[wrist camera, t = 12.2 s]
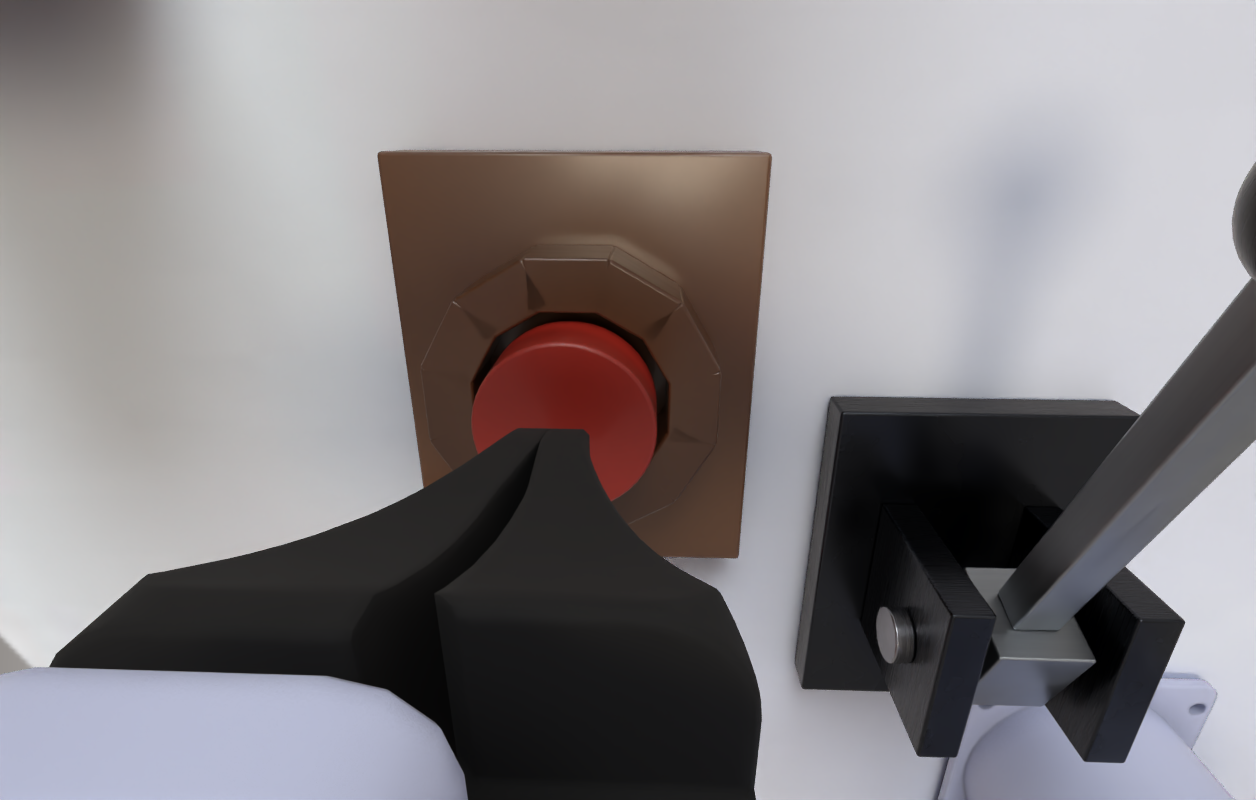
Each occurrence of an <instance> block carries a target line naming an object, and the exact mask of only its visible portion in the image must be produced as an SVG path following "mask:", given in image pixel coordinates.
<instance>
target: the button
mask: <svg viewBox="0 0 1256 800" xmlns="http://www.w3.org/2000/svg"><path fill="white" fill-rule="evenodd" d="M471 427H472V435H473V440H474V443H475V446H476V450H477V452H478V454H479V453H481V452H482V451H484V450H485V449H487V448H488V447H489V446H491V445H492V444H494V443H495V442H497V441H498V440H500V439H501V438H502V437H504V436H505V435H507V434H508V433H510V432H512V431H513V430H515V429H517V428H549V429H584V430H585V431H586V432H587V433H588V434H589V436H590V457H591V461H592V464H593V466H594V469H595V471H596V473H597V476H598V478H599V480H600V482H601V484H602V486H603V488H604V490H605V492H606V494H607V495H608V497H609V499H610V501H613V500H615V499H616V498H618V497H620V496H621V495H623V494H624V493H625V492H627V491H628V490H629V489H630V488H632V487H633V486H634V485H635V484H636V483H637V482H638V480H639V479H640V478H641V477H642V475H643V474H644V473H645V471H646V469H647V468H648V466H649V464H650V462H651V459H652V457H653V454H654V451H655V446H656V441H657V399H656V390H655V385H654V381H653V378H652V375H651V373H650V371H649V369H648V367H647V365H646V363H645V362H644V360H643V359H642V357H641V356H640V354H639V353H638V352H637V351H636V350H635V349H634V348H633V347H632V346H631V345H630V344H629V343H628V342H627V341H625V340H624V339H623V338H621V337H620V336H618V335H617V334H615V333H614V332H612V331H610V330H607V329H605V328H603V327H600V326H597V325H594V324H591V323H586V322H581V321H557V322H551V323H546V324H543V325H540V326H537V327H535V328H533V329H530V330H528V331H526V332H525V333H523V334H522V335H520V336H519V337H517V338H516V339H515V340H514V341H513V342H511V343H510V344H509V345H508V346H507V348H506V349H505V350H504V351H503V352H502V354H501V355H500V357H499V358H498V360H497V361H496V362H495V364H494V365H493V367H492V368H491V370H490V371H489V373H488V374H487V376H486V377H485V379H484V380H483V382H482V383H481V385H480V387H479V389H478V392H477V394H476V396H475V400H474V403H473V407H472V416H471Z"/></svg>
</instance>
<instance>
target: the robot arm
mask: <svg viewBox="0 0 1256 800" xmlns="http://www.w3.org/2000/svg"><path fill="white" fill-rule="evenodd" d="M1216 698H1217V691H1216V689H1214V688H1213V687H1212V686H1211V685H1210V684H1209V683H1208V682H1207V681H1205V680H1201V679H1176V678H1161V680H1160V682H1159V685H1158V687H1157V689H1156V692H1155V694H1154V696H1153V699H1152V701H1151V703H1150V706H1149V708H1148V710H1147V713H1146V715H1145V717H1144V719H1143V722H1142V724H1141V726H1140V729H1139V731H1138V733H1137V736H1136V738H1135V740H1134V743H1133V745H1132V747H1131V750H1130V752H1129V754H1128V757H1127V759H1126V761H1125V762H1124V763H1095V762H1084V761H1083V760H1082V758H1081V757H1080V755H1079V754H1078V753H1077V751H1076V750H1075V748H1074V747H1073V745H1072V744H1071V742H1070V741H1069V740H1068V738H1067V737H1066V735H1065V734H1064V732H1063V731H1062V729H1061V728H1060V727H1059V725H1058V724H1057V722H1056V721H1055V719H1054V718H1053V716H1052V715H1051V714H1050V712H1049V711H1048V709H1047V708H1046V706H1045V705H1044V706H1042V707H1037V706H1003V705H972V707H971V710H970V714H969V717H968V721H967V724H966V728H965V731H964V735H963V738H962V742H961V745H960V749H959V752H958V756H957V757H955V758H949V761H948V765H947V768H946V772H945V775H944V779H943V782H942V786H941V790H940V793H939V797H938V800H1235V799H1234V798H1233V797H1232V796H1231V794H1230V793H1229V792H1228V791H1227V790H1226V789H1225V788H1224V786H1223V785H1222V784H1221V783H1220V782H1219V781H1218V780H1217V778H1216V777H1215V776H1214V775H1213V774H1212V773H1211V772H1210V771H1209V769H1208V768H1207V767H1206V766H1205V765H1204V764H1203V763H1202V761H1201V760H1200V759H1199V758H1198V757H1197V756H1196V755H1195V753H1194V752H1193V751H1192V748H1193V746H1194V744H1195V742H1196V740H1197V738H1198V736H1199V734H1200V732H1201V730H1202V728H1203V726H1204V723H1205V721H1206V719H1207V717H1208V715H1209V713H1210V711H1211V709H1212V707H1213V705H1214V703H1215V701H1216ZM761 722H762V714H761V699H760V692H759V688H758V684H757V680H756V676H755V673H754V670H753V667H752V664H751V661H750V658H749V655H748V652H747V650H746V647H745V644H744V642H743V639H742V637H741V635H740V632H739V630H738V628H737V626H736V623H735V621H734V619H733V617H732V615H731V613H730V611H729V609H728V607H727V605H726V603H725V601H724V599H723V597H722V595H721V593H720V592H719V591H718V590H717V589H716V588H714V587H712V586H710V585H708V584H706V583H705V582H703V581H701V580H699V579H697V578H695V577H693V576H691V575H689V574H688V573H686V572H684V571H682V570H680V569H679V568H677V567H675V566H674V565H673V564H671V563H670V562H668V561H667V560H665V559H664V558H663V557H661V556H660V555H658V554H657V553H656V552H655V551H653V550H652V549H651V548H650V547H649V546H648V545H647V544H646V543H645V542H644V541H642V540H641V539H640V538H639V537H638V536H637V535H636V533H635V532H634V531H633V530H632V529H631V528H630V527H629V525H628V524H627V523H626V522H625V520H624V519H623V518H622V517H621V515H620V514H619V513H618V511H617V510H616V508H615V507H614V505H613V504H612V502H611V501H610V499H609V497H608V495H607V494H606V492H605V490H604V488H603V486H602V484H601V482H600V480H599V478H598V476H597V473H596V471H595V469H594V466H593V464H592V461H591V457H590V436H589V434H588V433H587V432H586V431H585V430H584V429H549V428H517V429H515V430H513V431H512V432H510V433H508V434H507V435H505V436H504V437H502V438H501V439H500V440H498V441H497V442H495V443H494V444H492V445H491V446H489V447H488V448H487V449H485V450H484V451H482V452H481V453H479V454H478V455H476V456H475V457H473V458H472V459H470V460H469V461H467V462H466V463H464V464H463V465H461V466H460V467H458V468H457V469H455V470H453V471H452V472H450V473H448V474H447V475H445V476H443V477H442V478H440V479H438V480H437V481H435V482H433V483H432V484H430V485H428V486H427V487H425V488H423V489H422V490H420V491H418V492H416V493H414V494H412V495H410V496H408V497H406V498H404V499H402V500H400V501H398V502H396V503H394V504H392V505H390V506H388V507H385V508H383V509H381V510H379V511H377V512H374V513H372V514H370V515H367V516H365V517H362V518H360V519H357V520H354V521H351V522H349V523H346V524H343V525H341V526H338V527H335V528H333V529H330V530H327V531H325V532H322V533H319V534H316V535H313V536H310V537H307V538H304V539H300V540H297V541H294V542H291V543H287V544H284V545H280V546H277V547H273V548H269V549H265V550H262V551H258V552H254V553H250V554H246V555H242V556H238V557H234V558H230V559H225V560H220V561H215V562H210V563H205V564H200V565H195V566H190V567H185V568H180V569H175V570H170V571H165V572H159V573H153V574H148V575H146V576H145V577H144V578H142V579H141V580H140V581H139V582H138V583H137V584H136V585H134V586H133V587H132V588H131V589H130V590H129V591H128V592H126V593H125V594H124V595H123V596H122V597H121V598H120V599H118V600H117V601H116V602H115V603H114V604H113V605H112V606H110V607H109V608H108V609H107V610H106V611H105V612H104V613H102V614H101V615H100V616H99V617H98V618H97V619H96V620H94V621H93V622H92V623H91V624H90V625H89V626H88V627H86V628H85V629H84V630H83V631H82V632H81V633H80V634H78V635H77V636H76V637H75V638H74V639H73V640H72V641H70V642H69V643H68V644H67V645H66V646H65V647H64V648H62V649H61V650H60V651H59V652H58V653H57V654H56V655H55V657H54V659H53V661H52V663H51V665H50V667H34V668H29V669H25V670H19V671H14V672H9V673H4V674H0V800H756V798H755V791H754V784H755V775H756V766H757V757H758V749H759V740H760V731H761Z"/></svg>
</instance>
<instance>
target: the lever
mask: <svg viewBox="0 0 1256 800" xmlns="http://www.w3.org/2000/svg"><path fill="white" fill-rule="evenodd" d="M1232 232H1233V241H1234V245H1235V248H1236V251H1237V254H1238V257H1239V259H1240V261H1241V262H1242V264H1243V266H1244V267H1245V269H1246V271H1247V272H1248V274H1249V275H1250V276H1251V277H1252V278H1251V279H1250V280H1249V282H1248V283H1247V284H1246V285H1245V286H1244V288H1243V289H1242V290H1241V291H1240V293H1239V294H1238V295H1237V296H1236V298H1235V299H1234V300H1233V301H1232V303H1231V304H1230V305H1229V306H1228V308H1227V309H1226V310H1225V311H1224V312H1223V314H1222V315H1221V316H1220V317H1219V319H1218V320H1217V321H1216V322H1215V324H1214V325H1213V326H1212V327H1211V329H1210V330H1209V331H1208V332H1207V334H1206V335H1205V336H1204V337H1203V339H1202V340H1201V341H1200V342H1199V343H1198V345H1197V346H1196V347H1195V348H1194V350H1193V351H1192V352H1191V353H1190V355H1189V356H1188V357H1187V358H1186V360H1185V361H1184V362H1183V363H1182V365H1181V366H1180V367H1179V368H1178V369H1177V371H1176V372H1175V373H1174V374H1173V376H1172V377H1171V378H1170V379H1169V381H1168V382H1167V383H1166V384H1165V386H1164V387H1163V388H1162V389H1161V391H1160V392H1159V393H1158V394H1157V396H1156V397H1155V398H1154V399H1153V400H1152V402H1151V403H1150V404H1149V405H1148V407H1147V408H1146V409H1145V410H1144V412H1143V413H1142V414H1141V415H1140V417H1139V418H1138V419H1137V420H1136V422H1135V423H1134V424H1133V425H1132V426H1131V428H1130V429H1129V430H1128V431H1127V433H1126V434H1125V435H1124V436H1123V438H1122V439H1121V440H1120V441H1119V443H1118V444H1117V445H1116V446H1115V448H1114V449H1113V450H1112V451H1111V453H1110V454H1109V455H1108V456H1107V457H1106V459H1105V460H1104V461H1103V462H1102V464H1101V465H1100V466H1099V467H1098V469H1097V470H1096V471H1095V472H1094V474H1093V475H1092V476H1091V477H1090V479H1089V480H1088V481H1087V482H1086V483H1085V485H1084V486H1083V487H1082V488H1081V490H1080V491H1079V492H1078V493H1077V495H1076V496H1075V497H1074V498H1073V500H1072V501H1071V502H1070V503H1069V505H1068V506H1067V507H1066V508H1065V509H1064V511H1063V512H1062V513H1061V514H1060V516H1059V517H1058V518H1057V519H1056V521H1055V522H1054V523H1053V524H1052V526H1051V527H1050V528H1049V529H1048V531H1047V532H1046V533H1045V534H1044V536H1043V537H1042V538H1041V539H1040V540H1039V542H1038V543H1037V544H1036V545H1035V547H1034V548H1033V549H1032V550H1031V552H1030V553H1029V554H1028V555H1027V557H1026V558H1025V559H1024V560H1023V562H1022V563H1021V564H1020V565H1019V566H1018V568H991V567H965V568H963V570H964V571H965V573H966V574H967V576H968V577H969V578H970V580H971V581H972V583H973V584H974V585H975V587H976V588H977V590H978V591H979V592H980V594H981V595H982V597H983V598H984V599H985V601H986V602H987V603H988V605H989V606H990V608H991V609H992V610H993V612H994V613H995V615H996V618H997V619H996V623H995V626H994V630H993V633H992V637H991V640H990V644H989V647H988V651H987V654H986V658H985V661H984V665H983V668H982V672H981V675H980V679H979V682H978V686H977V689H976V693H975V696H974V700H973V703H972V705H1003V706H1037V707H1042V706H1044V705H1045V704H1046V703H1047V702H1048V701H1050V700H1051V699H1052V698H1053V697H1054V696H1056V695H1057V694H1058V693H1059V692H1061V691H1062V690H1063V689H1064V688H1065V687H1067V686H1068V685H1069V684H1070V683H1072V682H1073V681H1074V680H1075V679H1076V678H1078V677H1079V676H1080V675H1081V674H1083V673H1084V672H1085V671H1086V670H1087V669H1089V668H1090V667H1091V666H1092V665H1094V664H1095V663H1096V659H1095V657H1094V655H1093V653H1092V651H1091V649H1090V647H1089V645H1088V643H1087V641H1086V639H1085V637H1084V635H1083V633H1082V631H1081V629H1080V627H1079V624H1078V622H1077V620H1076V618H1075V616H1074V615H1075V614H1076V613H1077V612H1078V611H1079V610H1081V609H1082V608H1083V607H1084V606H1085V605H1086V604H1087V603H1088V602H1089V601H1090V600H1091V599H1092V598H1093V597H1094V596H1095V595H1096V594H1097V593H1098V592H1099V591H1100V590H1101V589H1102V588H1103V587H1104V586H1105V585H1106V584H1107V583H1108V582H1109V581H1110V580H1111V579H1113V578H1114V577H1115V576H1116V575H1117V574H1118V573H1119V572H1120V571H1121V570H1122V569H1123V568H1124V567H1125V566H1126V565H1127V564H1128V563H1129V562H1130V561H1131V560H1132V559H1133V558H1134V557H1135V556H1136V555H1137V554H1138V553H1139V552H1140V551H1141V550H1142V549H1143V548H1145V547H1146V546H1147V545H1148V544H1149V543H1150V542H1151V541H1152V540H1153V539H1154V538H1155V537H1156V536H1157V535H1158V534H1159V533H1160V532H1161V531H1162V530H1163V529H1164V528H1165V527H1166V526H1167V525H1168V524H1169V523H1170V522H1171V521H1172V520H1173V519H1174V518H1175V517H1177V516H1178V515H1179V514H1180V513H1181V512H1182V511H1183V510H1184V509H1185V508H1186V507H1187V506H1188V505H1189V504H1190V503H1191V502H1192V501H1193V500H1194V499H1195V498H1196V497H1197V496H1198V495H1199V494H1200V493H1201V492H1202V491H1203V490H1204V489H1205V488H1206V487H1208V486H1209V485H1210V484H1211V483H1212V482H1213V481H1214V480H1215V479H1216V478H1217V477H1218V476H1219V475H1220V474H1221V473H1222V472H1223V471H1224V470H1225V469H1226V468H1227V467H1228V466H1229V465H1230V464H1231V463H1232V462H1233V461H1234V460H1235V459H1236V458H1237V457H1238V456H1240V455H1241V454H1242V453H1243V452H1244V451H1245V450H1246V449H1247V448H1248V447H1249V446H1250V445H1251V444H1252V443H1253V442H1254V441H1255V440H1256V162H1255V163H1254V165H1253V166H1252V168H1251V170H1250V171H1249V173H1248V174H1247V176H1246V178H1245V180H1244V182H1243V184H1242V186H1241V188H1240V190H1239V192H1238V195H1237V198H1236V201H1235V206H1234V211H1233V217H1232Z"/></svg>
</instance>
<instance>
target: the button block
mask: <svg viewBox="0 0 1256 800" xmlns="http://www.w3.org/2000/svg"><path fill="white" fill-rule="evenodd" d="M771 163H772V156H771V154H770V153H766V152H759V151H547V150H396V151H381V152H379V153H378V164H379V171H380V178H381V185H382V192H383V199H384V207H385V214H386V221H387V228H388V235H389V243H390V250H391V257H392V264H393V271H394V278H395V286H396V293H397V300H398V307H399V314H400V321H401V329H402V336H403V343H404V350H405V357H406V364H407V372H408V379H409V386H410V393H411V400H412V407H413V415H414V422H415V429H416V436H417V443H418V450H419V458H420V465H421V472H422V479H423V486H424V488H425V487H427V486H428V485H430V484H432V483H433V482H435V481H437V480H438V479H440V478H442V477H443V476H445V475H447V474H448V473H450V472H452V471H453V470H455V469H457V468H458V467H460V466H461V465H463V464H464V463H466V462H467V461H469V460H470V459H472V458H473V457H475V456H476V455H478V452H477V450H476V446H475V443H474V440H473V435H472V427H471V416H472V407H473V403H474V400H475V396H476V394H477V392H478V389H479V387H480V385H481V383H482V382H483V380H484V379H485V377H486V376H487V374H488V373H489V371H490V370H491V368H492V367H493V365H494V364H495V362H496V361H497V360H498V358H499V357H500V355H501V354H502V352H503V351H504V350H505V349H506V348H507V346H508V345H509V344H510V343H511V342H513V341H514V340H515V339H516V338H517V337H519V336H520V335H522V334H523V333H525V332H526V331H528V330H530V329H533V328H535V327H537V326H540V325H543V324H546V323H551V322H557V321H581V322H586V323H591V324H594V325H597V326H600V327H603V328H605V329H607V330H610V331H612V332H614V333H615V334H617V335H618V336H620V337H621V338H623V339H624V340H625V341H627V342H628V343H629V344H630V345H631V346H632V347H633V348H634V349H635V350H636V351H637V352H638V353H639V354H640V356H641V357H642V359H643V360H644V362H645V363H646V365H647V367H648V369H649V371H650V373H651V375H652V378H653V381H654V385H655V390H656V399H657V441H656V446H655V451H654V454H653V457H652V459H651V462H650V464H649V466H648V468H647V469H646V471H645V473H644V474H643V475H642V477H641V478H640V479H639V480H638V482H637V483H636V484H635V485H634V486H633V487H632V488H630V489H629V490H628V491H627V492H625V493H624V494H623V495H621V496H620V497H618V498H616V499H615V500H613V501H611V502H612V504H613V505H614V507H615V508H616V510H617V511H618V513H619V514H620V515H621V517H622V518H623V519H624V520H625V522H626V523H627V524H628V525H629V527H630V528H631V529H632V530H633V531H634V532H635V533H636V535H637V536H638V537H639V538H640V539H641V540H642V541H644V542H645V543H646V544H647V545H648V546H649V547H650V548H651V549H652V550H653V551H655V552H656V553H657V554H658V555H660V556H661V557H694V558H737V557H738V555H739V545H740V533H741V521H742V509H743V497H744V485H745V473H746V461H747V450H748V438H749V426H750V414H751V402H752V390H753V378H754V366H755V354H756V342H757V330H758V318H759V306H760V295H761V283H762V271H763V259H764V247H765V235H766V223H767V211H768V199H769V187H770V175H771Z"/></svg>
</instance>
